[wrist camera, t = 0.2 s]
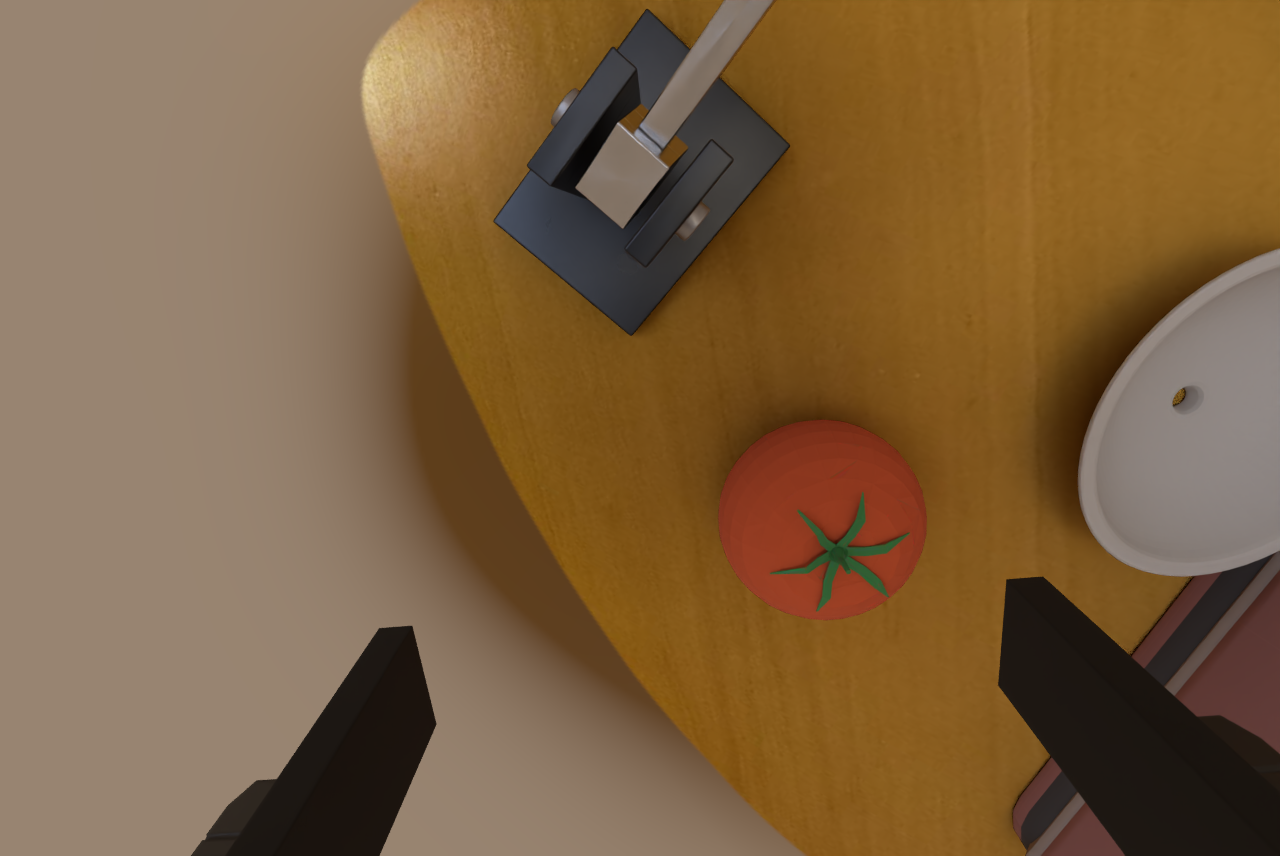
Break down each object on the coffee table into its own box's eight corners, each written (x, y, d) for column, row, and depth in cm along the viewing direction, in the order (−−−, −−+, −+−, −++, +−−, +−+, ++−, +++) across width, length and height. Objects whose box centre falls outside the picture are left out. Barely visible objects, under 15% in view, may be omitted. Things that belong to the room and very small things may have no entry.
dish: (1203, 174, 32) (1300, 166, 27) (1398, 330, 34) (1519, 347, 29) (965, 455, 36) (1012, 489, 32) (1149, 576, 39) (1219, 626, 34)
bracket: (647, 16, 30) (642, -125, 18) (786, 148, 32) (867, 101, 20) (498, 221, 33) (407, 219, 21) (632, 332, 35) (620, 391, 23)
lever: (797, -283, 15) (781, -305, 14) (968, -91, 16) (973, -89, 15) (558, 129, 23) (528, 149, 22) (683, 240, 24) (664, 267, 23)
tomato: (791, 591, 39) (835, 708, 30) (674, 483, 37) (681, 572, 28) (924, 482, 37) (1017, 571, 28) (807, 360, 35) (863, 411, 26)
